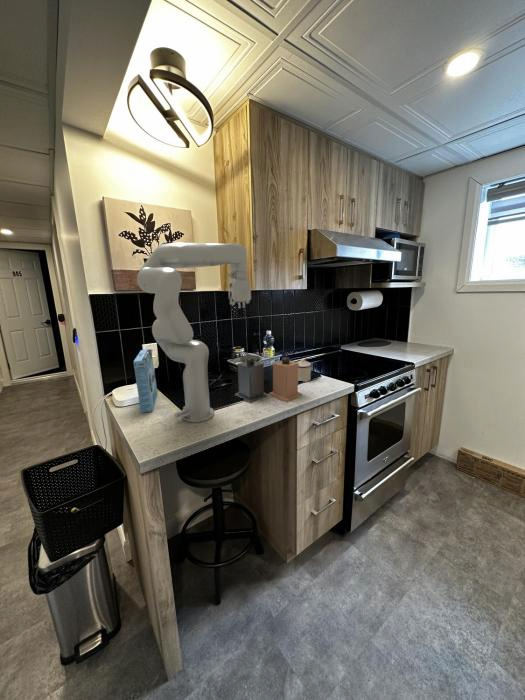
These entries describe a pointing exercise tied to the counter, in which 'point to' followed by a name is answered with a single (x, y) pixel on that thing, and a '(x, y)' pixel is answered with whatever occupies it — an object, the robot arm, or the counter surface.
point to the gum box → (145, 380)
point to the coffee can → (244, 358)
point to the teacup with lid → (304, 371)
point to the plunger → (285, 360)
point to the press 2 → (285, 381)
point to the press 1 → (251, 381)
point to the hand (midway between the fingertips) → (240, 316)
